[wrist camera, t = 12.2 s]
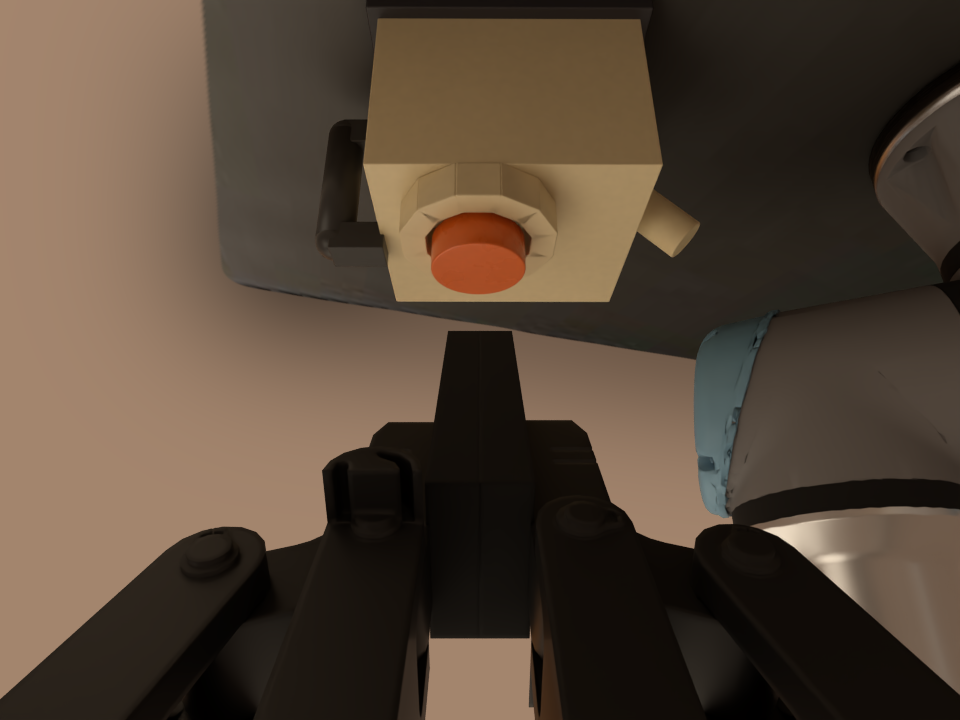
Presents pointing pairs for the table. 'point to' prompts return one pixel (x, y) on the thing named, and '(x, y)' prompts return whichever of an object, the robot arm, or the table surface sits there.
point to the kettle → (512, 146)
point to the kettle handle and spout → (347, 138)
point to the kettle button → (478, 253)
